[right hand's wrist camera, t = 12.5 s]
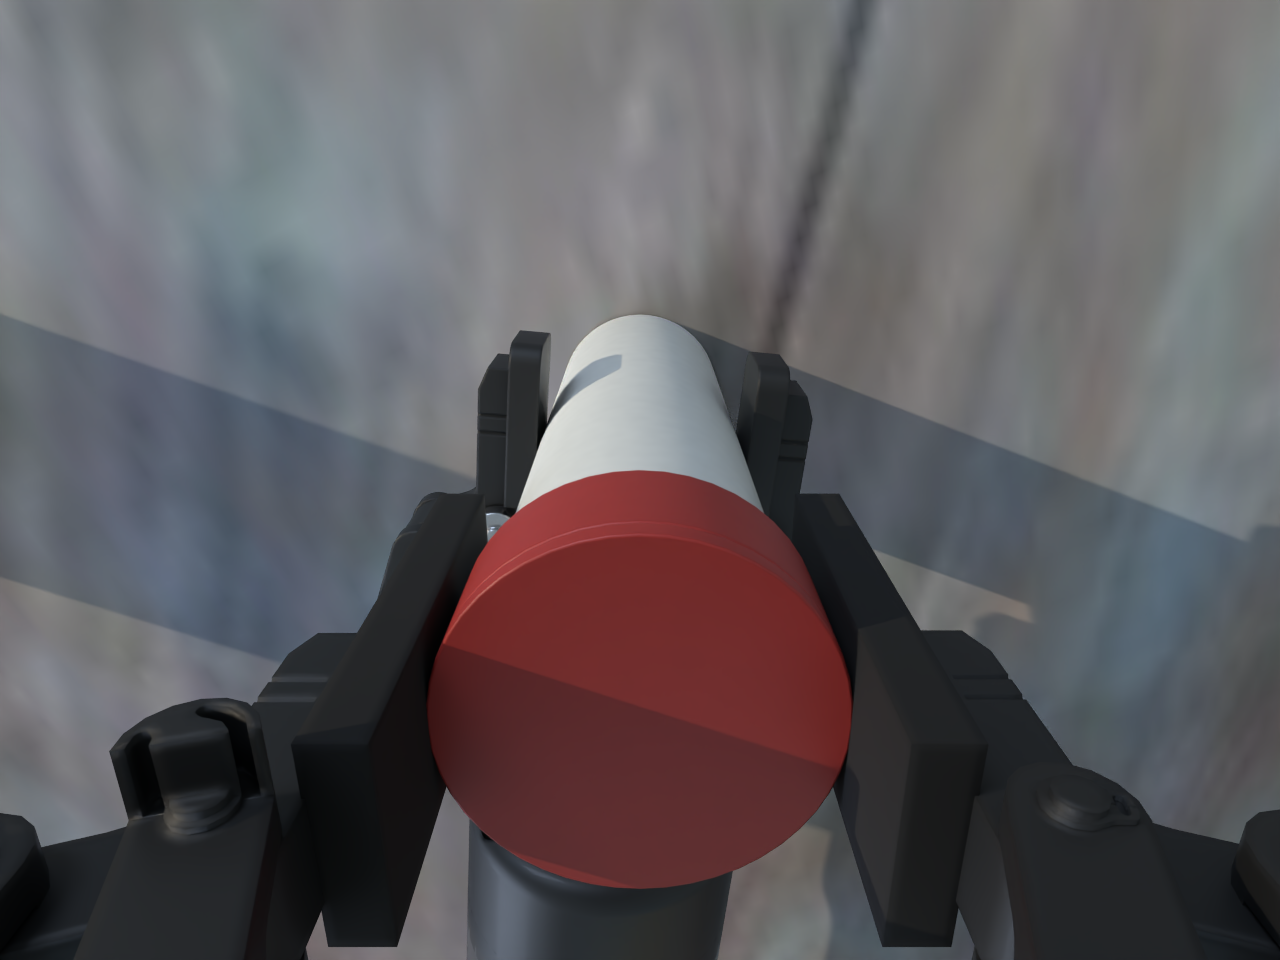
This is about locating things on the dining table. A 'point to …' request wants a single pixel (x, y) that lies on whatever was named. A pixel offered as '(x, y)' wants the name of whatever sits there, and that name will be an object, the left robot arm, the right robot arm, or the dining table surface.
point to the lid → (639, 684)
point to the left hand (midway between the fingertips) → (649, 352)
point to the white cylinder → (639, 412)
